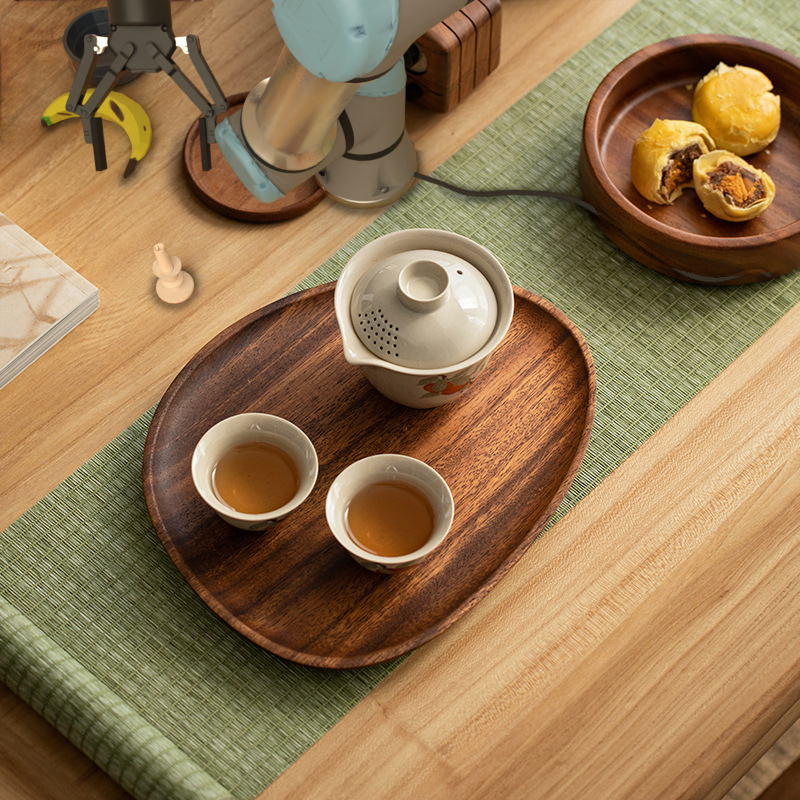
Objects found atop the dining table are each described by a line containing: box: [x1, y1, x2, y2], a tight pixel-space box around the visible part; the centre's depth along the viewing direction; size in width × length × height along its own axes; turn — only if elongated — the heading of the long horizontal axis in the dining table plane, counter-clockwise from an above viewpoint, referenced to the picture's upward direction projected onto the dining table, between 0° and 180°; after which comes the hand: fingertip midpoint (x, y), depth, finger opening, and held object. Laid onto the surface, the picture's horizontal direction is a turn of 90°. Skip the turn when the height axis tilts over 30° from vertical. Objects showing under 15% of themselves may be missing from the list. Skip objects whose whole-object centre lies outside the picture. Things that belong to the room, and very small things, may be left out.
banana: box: [40, 87, 153, 180], centre depth 138 cm, size 5×17×15 cm
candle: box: [151, 242, 195, 304], centre depth 123 cm, size 5×5×10 cm
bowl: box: [61, 6, 141, 87], centre depth 143 cm, size 12×12×5 cm
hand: (154, 170), depth 120 cm, fingers open, 13 cm apart
